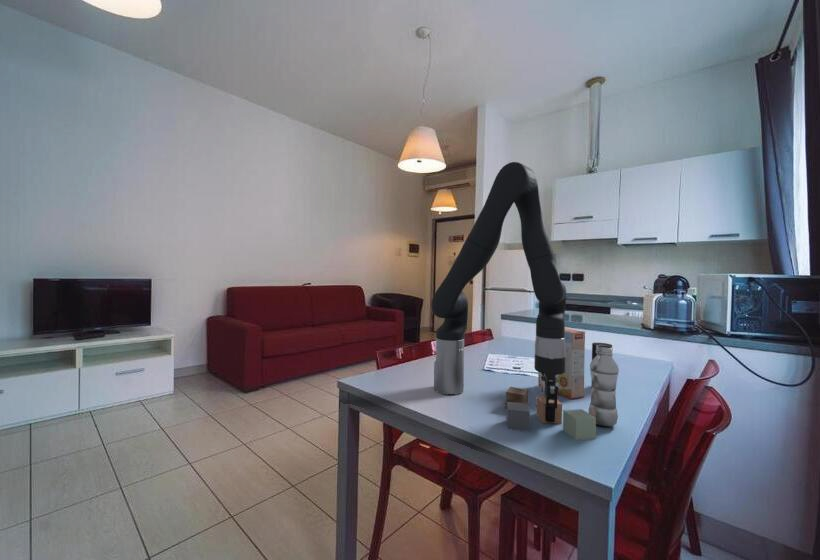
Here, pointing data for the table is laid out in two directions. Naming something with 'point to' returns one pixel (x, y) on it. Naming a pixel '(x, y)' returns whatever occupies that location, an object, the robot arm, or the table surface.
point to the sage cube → (579, 424)
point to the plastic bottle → (604, 387)
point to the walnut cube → (516, 395)
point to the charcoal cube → (518, 416)
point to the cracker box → (572, 366)
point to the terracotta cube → (542, 410)
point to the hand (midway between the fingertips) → (548, 416)
